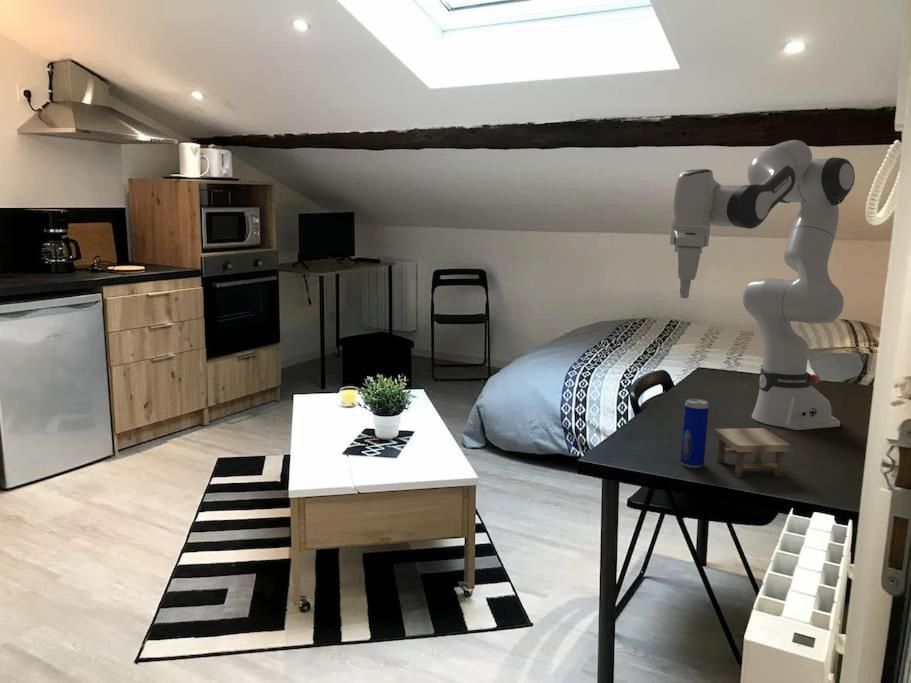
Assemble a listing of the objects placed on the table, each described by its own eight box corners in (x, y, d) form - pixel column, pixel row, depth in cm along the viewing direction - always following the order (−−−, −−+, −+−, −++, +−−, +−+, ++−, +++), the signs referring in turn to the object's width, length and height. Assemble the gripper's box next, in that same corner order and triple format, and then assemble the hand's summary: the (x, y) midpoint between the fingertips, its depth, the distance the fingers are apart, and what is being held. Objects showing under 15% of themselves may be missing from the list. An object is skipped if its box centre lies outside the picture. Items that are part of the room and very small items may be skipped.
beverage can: (676, 460, 172) (681, 398, 169) (698, 460, 172) (703, 398, 169) (685, 468, 167) (690, 404, 164) (707, 468, 167) (712, 404, 164)
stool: (760, 458, 174) (763, 428, 173) (787, 477, 162) (791, 444, 161) (711, 459, 173) (714, 428, 171) (735, 478, 161) (738, 445, 160)
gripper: (675, 237, 187) (670, 291, 189) (676, 238, 167) (670, 299, 169) (701, 238, 185) (696, 293, 187) (705, 239, 165) (699, 301, 168)
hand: (683, 296), depth 178 cm, fingers open, 8 cm apart
